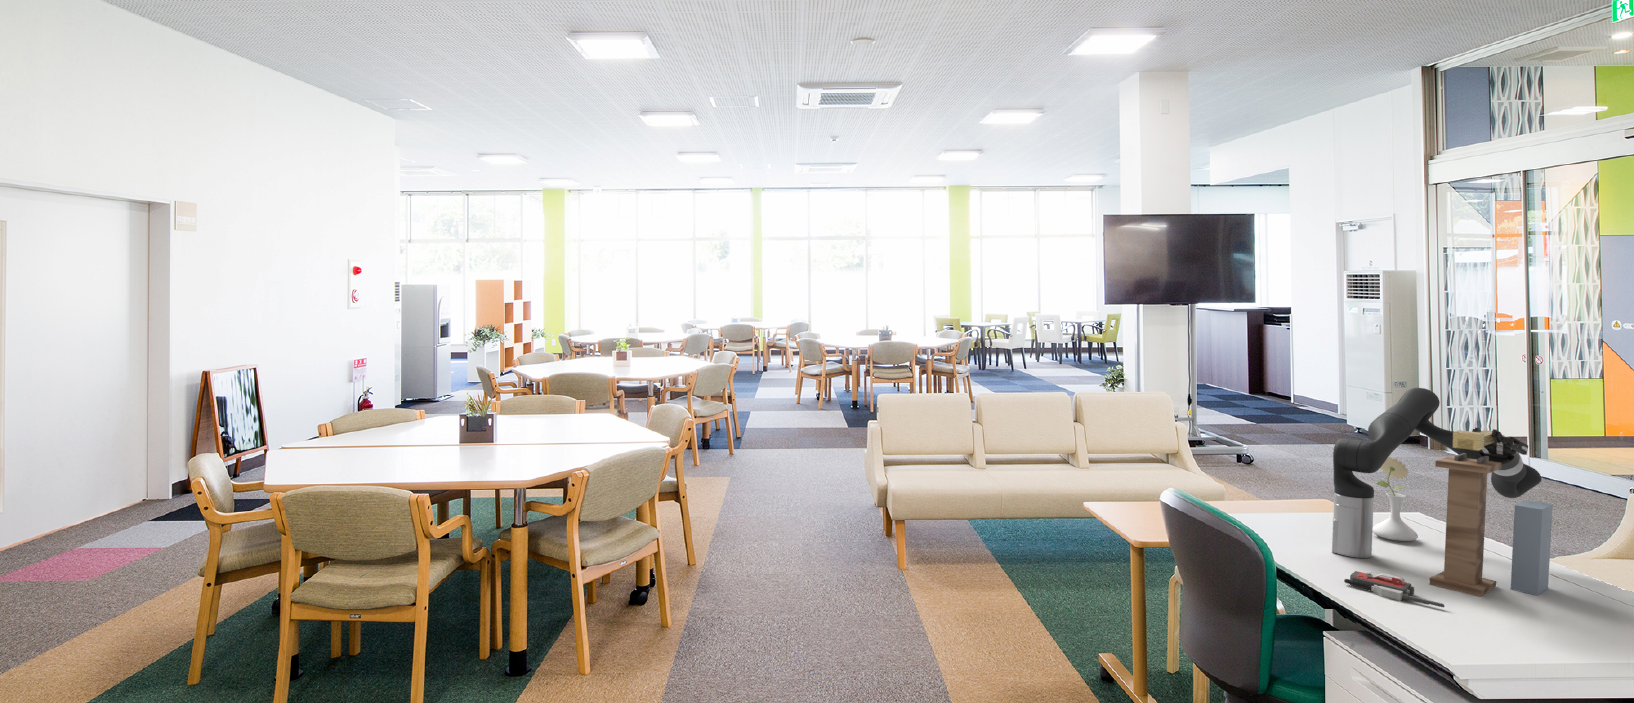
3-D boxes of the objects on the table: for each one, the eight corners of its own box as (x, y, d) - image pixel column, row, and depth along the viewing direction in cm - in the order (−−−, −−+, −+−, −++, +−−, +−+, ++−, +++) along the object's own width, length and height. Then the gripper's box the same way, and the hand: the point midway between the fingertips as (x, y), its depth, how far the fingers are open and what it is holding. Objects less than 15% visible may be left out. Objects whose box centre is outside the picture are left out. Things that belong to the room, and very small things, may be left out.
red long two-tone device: (1340, 587, 184) (1443, 612, 169) (1341, 570, 184) (1444, 594, 169) (1351, 579, 190) (1451, 603, 175) (1351, 563, 190) (1451, 585, 175)
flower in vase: (1427, 544, 219) (1431, 462, 217) (1389, 544, 219) (1393, 462, 218) (1394, 531, 232) (1397, 454, 230) (1358, 531, 232) (1361, 454, 231)
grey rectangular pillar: (1537, 595, 179) (1542, 509, 178) (1510, 588, 183) (1514, 504, 182) (1548, 587, 184) (1552, 504, 183) (1521, 581, 188) (1525, 500, 187)
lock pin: (1478, 450, 180) (1478, 434, 180) (1452, 447, 184) (1453, 431, 184) (1503, 441, 191) (1504, 426, 191) (1479, 438, 195) (1479, 424, 195)
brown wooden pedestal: (1480, 596, 178) (1486, 462, 176) (1429, 583, 186) (1435, 456, 185) (1496, 586, 185) (1502, 457, 183) (1446, 574, 193) (1451, 451, 191)
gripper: (1471, 441, 205) (1453, 415, 197) (1539, 449, 194) (1524, 422, 185) (1465, 465, 204) (1447, 440, 195) (1534, 475, 192) (1518, 448, 183)
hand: (1485, 431), depth 190 cm, fingers closed on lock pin, 3 cm apart
